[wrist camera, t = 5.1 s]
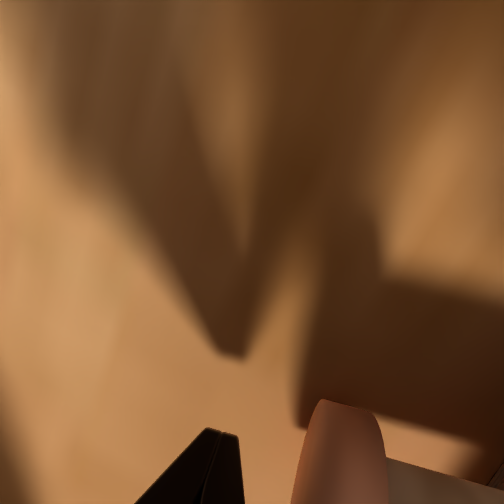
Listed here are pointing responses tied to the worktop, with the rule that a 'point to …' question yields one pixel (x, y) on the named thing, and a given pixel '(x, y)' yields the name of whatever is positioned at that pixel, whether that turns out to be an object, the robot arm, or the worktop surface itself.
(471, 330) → the worktop surface
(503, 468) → the block
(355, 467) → the pin
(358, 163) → the worktop surface
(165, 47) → the worktop surface
